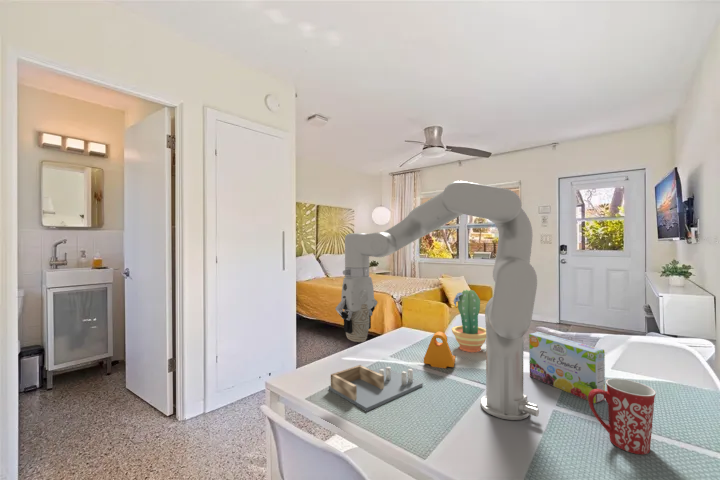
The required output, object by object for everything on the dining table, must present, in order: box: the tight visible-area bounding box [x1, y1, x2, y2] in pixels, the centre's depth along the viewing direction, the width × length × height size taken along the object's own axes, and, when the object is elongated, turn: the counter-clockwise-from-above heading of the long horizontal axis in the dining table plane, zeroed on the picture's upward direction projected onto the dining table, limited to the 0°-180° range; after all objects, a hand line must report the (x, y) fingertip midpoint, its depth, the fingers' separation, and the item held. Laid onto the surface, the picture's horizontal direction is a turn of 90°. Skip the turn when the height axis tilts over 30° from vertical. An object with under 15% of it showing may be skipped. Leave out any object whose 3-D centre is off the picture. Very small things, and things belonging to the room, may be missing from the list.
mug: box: [587, 377, 657, 455], centre depth 78 cm, size 13×9×14 cm
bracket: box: [423, 331, 456, 369], centre depth 127 cm, size 11×7×12 cm, turn 68°
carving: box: [345, 304, 370, 343], centre depth 105 cm, size 6×8×12 cm
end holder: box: [330, 364, 384, 400], centre depth 105 cm, size 12×12×4 cm
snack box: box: [528, 331, 606, 404], centre depth 106 cm, size 21×6×15 cm, turn 27°
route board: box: [328, 366, 424, 412], centre depth 107 cm, size 18×24×5 cm
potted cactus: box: [451, 289, 486, 353], centre depth 144 cm, size 15×15×25 cm
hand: (357, 329), depth 105 cm, fingers closed on carving, 6 cm apart
